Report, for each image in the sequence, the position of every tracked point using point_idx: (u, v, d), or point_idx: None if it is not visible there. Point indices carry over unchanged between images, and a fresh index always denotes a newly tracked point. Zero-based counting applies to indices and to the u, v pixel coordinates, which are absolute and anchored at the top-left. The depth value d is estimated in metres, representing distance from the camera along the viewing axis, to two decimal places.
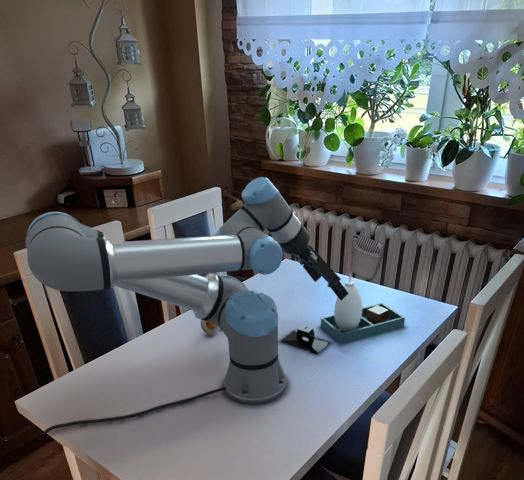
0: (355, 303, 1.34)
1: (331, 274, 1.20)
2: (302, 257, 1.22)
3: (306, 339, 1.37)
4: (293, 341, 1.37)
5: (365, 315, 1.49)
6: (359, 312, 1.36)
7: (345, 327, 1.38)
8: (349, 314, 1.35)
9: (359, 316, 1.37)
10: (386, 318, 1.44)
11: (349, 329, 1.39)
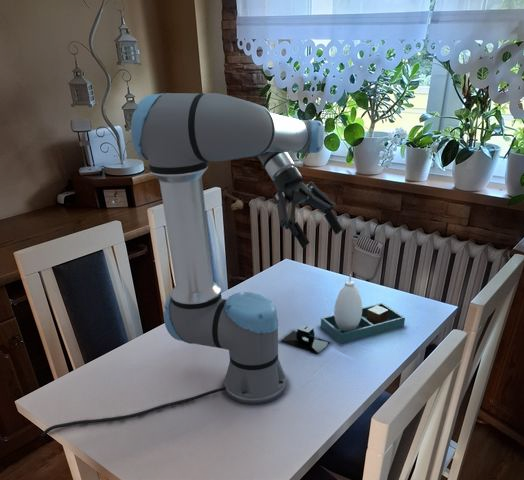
0: (355, 303, 1.34)
1: None
2: None
3: (306, 339, 1.37)
4: (293, 341, 1.37)
5: (365, 315, 1.49)
6: (359, 312, 1.36)
7: (345, 327, 1.38)
8: (349, 314, 1.35)
9: (359, 316, 1.37)
10: (386, 318, 1.44)
11: (349, 329, 1.39)
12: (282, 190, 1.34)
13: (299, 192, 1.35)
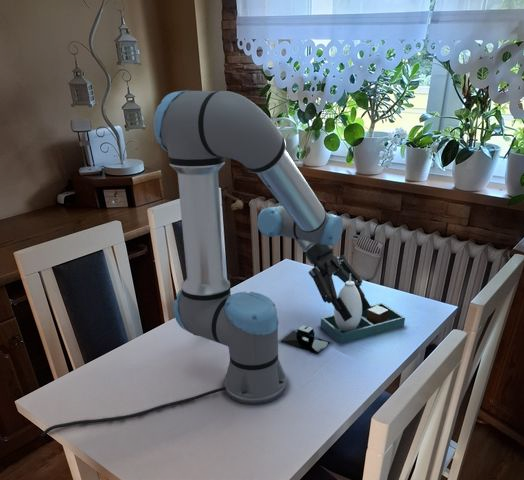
0: (355, 303, 1.34)
1: None
2: None
3: (306, 339, 1.37)
4: (293, 341, 1.37)
5: (365, 315, 1.49)
6: (359, 312, 1.36)
7: (345, 327, 1.38)
8: None
9: (359, 316, 1.37)
10: (386, 318, 1.44)
11: (349, 329, 1.39)
12: (314, 262, 1.36)
13: (330, 264, 1.37)
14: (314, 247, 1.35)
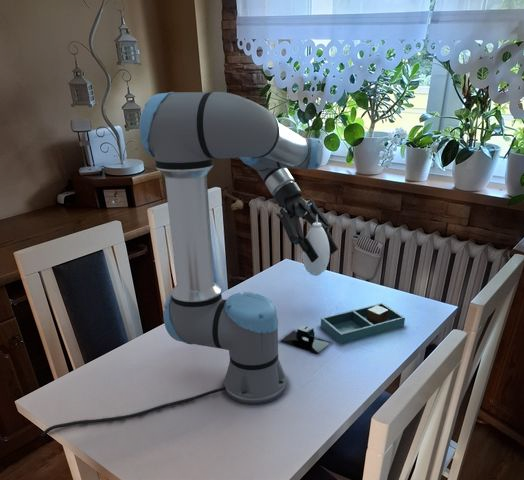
0: (322, 244, 1.36)
1: None
2: None
3: (306, 339, 1.37)
4: (293, 341, 1.37)
5: (365, 315, 1.49)
6: (326, 254, 1.38)
7: (313, 269, 1.40)
8: None
9: (326, 258, 1.39)
10: (386, 318, 1.44)
11: (317, 271, 1.41)
12: (282, 204, 1.38)
13: (298, 206, 1.39)
14: (282, 189, 1.37)
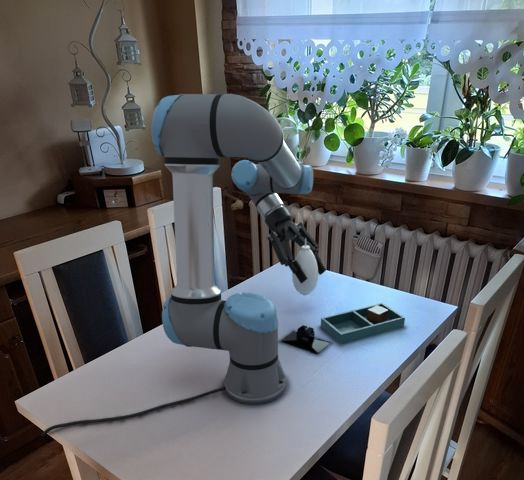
0: (310, 266, 1.43)
1: None
2: None
3: (306, 339, 1.37)
4: (293, 341, 1.37)
5: (365, 315, 1.49)
6: (315, 275, 1.45)
7: (302, 289, 1.47)
8: None
9: (315, 279, 1.46)
10: (386, 318, 1.44)
11: (306, 291, 1.48)
12: (273, 228, 1.45)
13: (288, 230, 1.46)
14: (272, 213, 1.44)
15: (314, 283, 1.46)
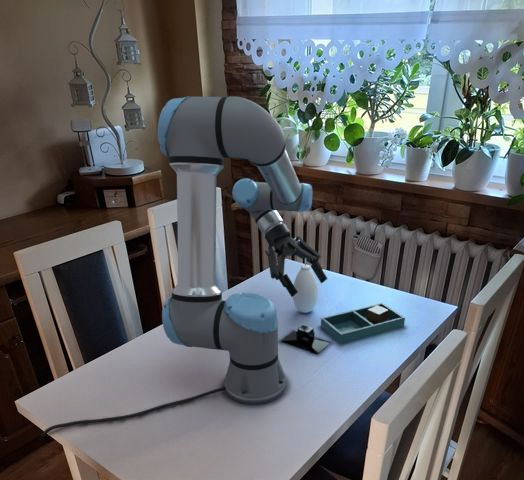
0: (310, 285, 1.46)
1: None
2: None
3: (306, 339, 1.37)
4: (293, 341, 1.38)
5: (365, 315, 1.49)
6: (314, 294, 1.48)
7: (302, 307, 1.50)
8: (305, 296, 1.47)
9: (315, 297, 1.49)
10: (386, 318, 1.44)
11: (306, 310, 1.51)
12: (272, 244, 1.48)
13: (288, 246, 1.49)
14: (272, 230, 1.46)
15: (314, 301, 1.50)
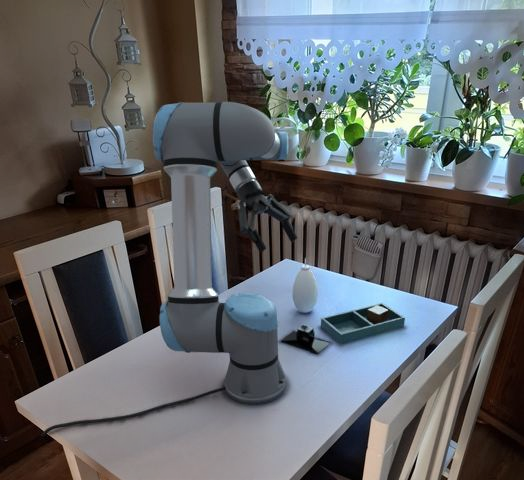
0: (310, 285, 1.46)
1: None
2: None
3: (306, 339, 1.37)
4: (293, 341, 1.37)
5: (365, 315, 1.49)
6: (314, 294, 1.48)
7: (302, 307, 1.50)
8: (305, 296, 1.47)
9: (315, 297, 1.49)
10: (386, 318, 1.44)
11: (306, 310, 1.51)
12: (244, 200, 1.49)
13: (259, 203, 1.51)
14: (243, 186, 1.48)
15: (314, 301, 1.50)
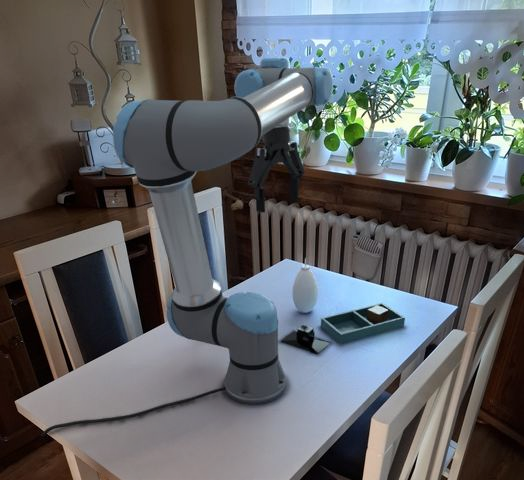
0: (310, 285, 1.46)
1: None
2: None
3: (306, 339, 1.37)
4: (293, 341, 1.37)
5: (365, 315, 1.49)
6: (314, 294, 1.48)
7: (302, 307, 1.50)
8: (305, 296, 1.47)
9: (315, 297, 1.49)
10: (386, 318, 1.44)
11: (306, 310, 1.51)
12: (266, 145, 1.29)
13: (280, 153, 1.32)
14: (274, 131, 1.26)
15: (314, 301, 1.50)
